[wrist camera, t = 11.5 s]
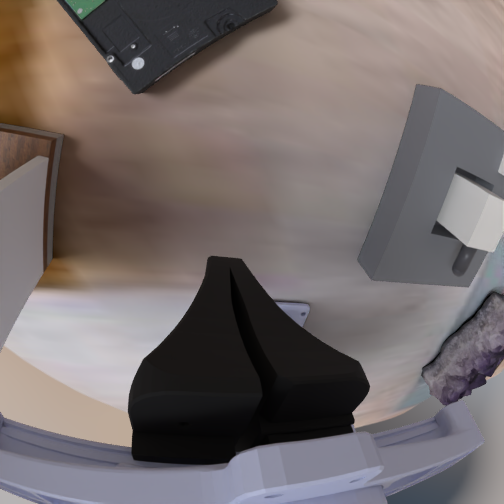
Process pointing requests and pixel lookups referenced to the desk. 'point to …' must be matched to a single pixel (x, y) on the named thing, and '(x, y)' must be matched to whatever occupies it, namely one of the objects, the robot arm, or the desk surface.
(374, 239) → the socket plate
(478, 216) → the plug
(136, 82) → the disk drive
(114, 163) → the desk surface
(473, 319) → the geode
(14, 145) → the tall grey upright box
